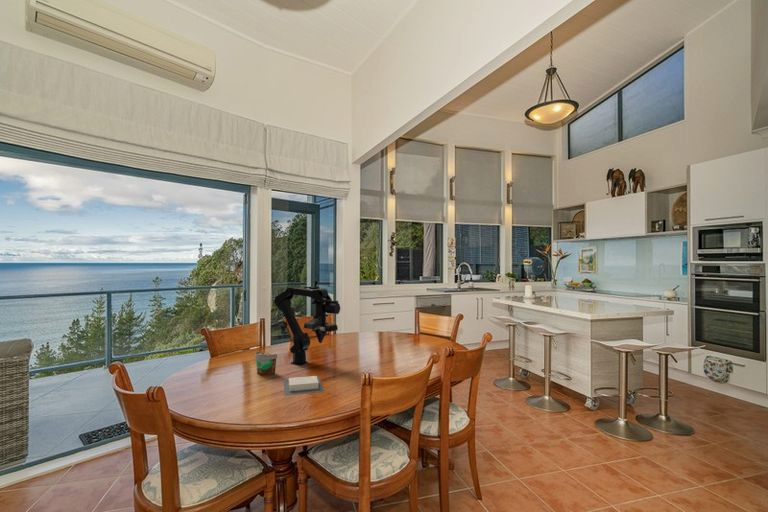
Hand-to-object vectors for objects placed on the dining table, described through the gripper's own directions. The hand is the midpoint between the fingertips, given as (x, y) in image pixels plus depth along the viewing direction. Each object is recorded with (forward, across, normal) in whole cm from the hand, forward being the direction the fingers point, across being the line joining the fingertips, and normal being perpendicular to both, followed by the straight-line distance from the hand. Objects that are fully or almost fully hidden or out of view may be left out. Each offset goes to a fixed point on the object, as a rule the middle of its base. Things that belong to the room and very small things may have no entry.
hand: (320, 342), depth 181 cm
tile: (+10, +12, -24) cm, 29 cm away
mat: (+12, +14, -26) cm, 32 cm away
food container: (+12, -14, -25) cm, 31 cm away
